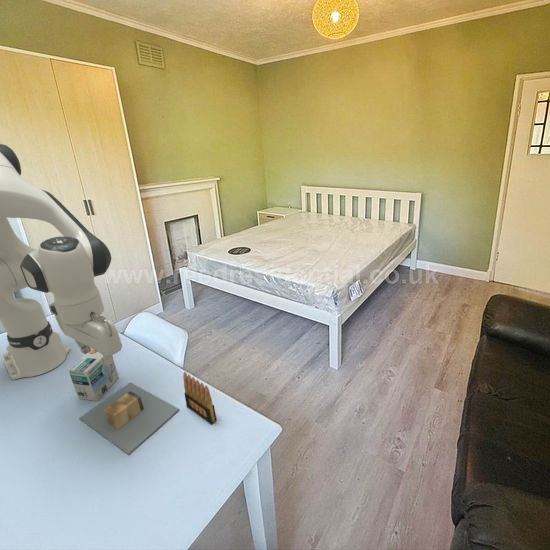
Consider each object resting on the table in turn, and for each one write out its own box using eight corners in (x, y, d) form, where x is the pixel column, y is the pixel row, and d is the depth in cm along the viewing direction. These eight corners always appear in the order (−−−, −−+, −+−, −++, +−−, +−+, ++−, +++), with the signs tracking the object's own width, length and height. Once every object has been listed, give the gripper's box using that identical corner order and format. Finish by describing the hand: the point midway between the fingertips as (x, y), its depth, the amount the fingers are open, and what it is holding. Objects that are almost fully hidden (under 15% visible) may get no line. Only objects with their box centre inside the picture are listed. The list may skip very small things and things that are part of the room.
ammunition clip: (217, 420, 87) (211, 384, 82) (211, 424, 85) (205, 389, 81) (191, 402, 93) (185, 368, 88) (186, 406, 92) (179, 372, 87)
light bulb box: (97, 402, 95) (87, 372, 91) (77, 399, 97) (66, 370, 93) (120, 377, 105) (111, 349, 101) (102, 375, 106) (92, 347, 102)
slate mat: (79, 419, 90) (79, 417, 89) (130, 383, 102) (130, 382, 102) (128, 455, 78) (128, 453, 78) (179, 410, 91) (179, 409, 90)
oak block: (103, 410, 86) (130, 390, 92) (107, 422, 87) (133, 403, 93) (113, 416, 83) (140, 396, 89) (117, 429, 85) (143, 409, 91)
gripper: (121, 312, 71) (135, 363, 77) (71, 293, 82) (87, 339, 87) (93, 326, 67) (110, 380, 72) (44, 304, 77) (62, 352, 82)
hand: (97, 357), depth 80 cm, fingers open, 8 cm apart
